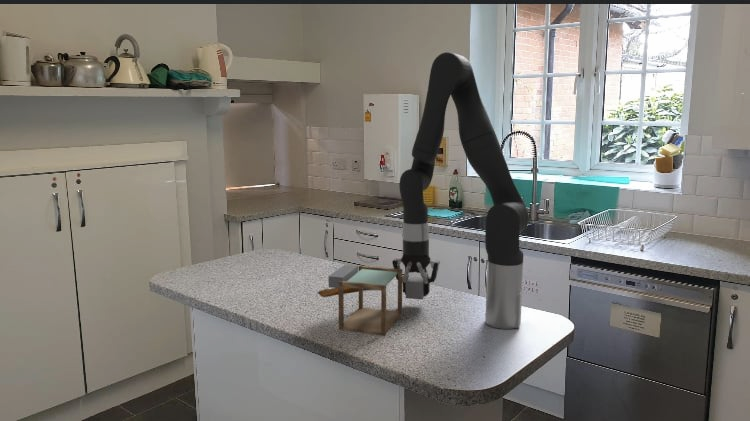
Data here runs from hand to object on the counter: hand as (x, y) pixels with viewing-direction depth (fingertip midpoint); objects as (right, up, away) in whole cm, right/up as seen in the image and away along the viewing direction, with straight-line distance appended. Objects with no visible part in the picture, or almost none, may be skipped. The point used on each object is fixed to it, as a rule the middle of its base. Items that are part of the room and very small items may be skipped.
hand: (416, 294), depth 169 cm
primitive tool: (-21, -2, +15) cm, 25 cm away
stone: (0, -1, 0) cm, 0 cm away
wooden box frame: (-13, -6, -11) cm, 18 cm away
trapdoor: (-15, +5, -12) cm, 20 cm away
